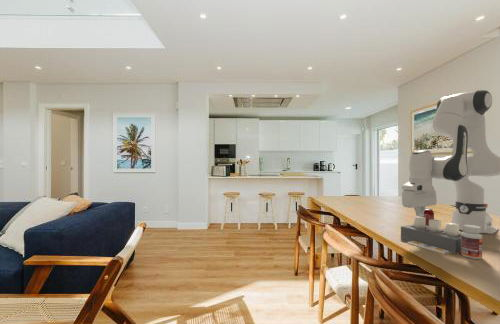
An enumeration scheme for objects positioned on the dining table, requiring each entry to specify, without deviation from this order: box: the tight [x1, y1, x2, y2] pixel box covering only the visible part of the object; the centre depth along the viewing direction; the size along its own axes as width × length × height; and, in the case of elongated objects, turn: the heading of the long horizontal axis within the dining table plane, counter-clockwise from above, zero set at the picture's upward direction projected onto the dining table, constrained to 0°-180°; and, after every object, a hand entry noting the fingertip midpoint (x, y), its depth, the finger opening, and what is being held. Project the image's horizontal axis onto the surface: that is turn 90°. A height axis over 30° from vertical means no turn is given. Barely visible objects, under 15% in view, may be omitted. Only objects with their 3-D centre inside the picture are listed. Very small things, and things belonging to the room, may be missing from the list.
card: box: [407, 241, 450, 255], centre depth 108 cm, size 4×14×1 cm, turn 26°
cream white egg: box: [429, 219, 442, 233], centre depth 114 cm, size 4×4×6 cm
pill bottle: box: [460, 225, 483, 260], centre depth 99 cm, size 6×6×11 cm
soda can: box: [420, 207, 435, 226], centre depth 131 cm, size 7×7×12 cm
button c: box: [444, 222, 460, 237], centre depth 108 cm, size 4×4×6 cm
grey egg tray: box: [400, 223, 462, 255], centre depth 114 cm, size 13×22×6 cm, turn 26°
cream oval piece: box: [413, 216, 426, 229], centre depth 120 cm, size 4×4×6 cm
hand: (419, 216), depth 120 cm, fingers closed
